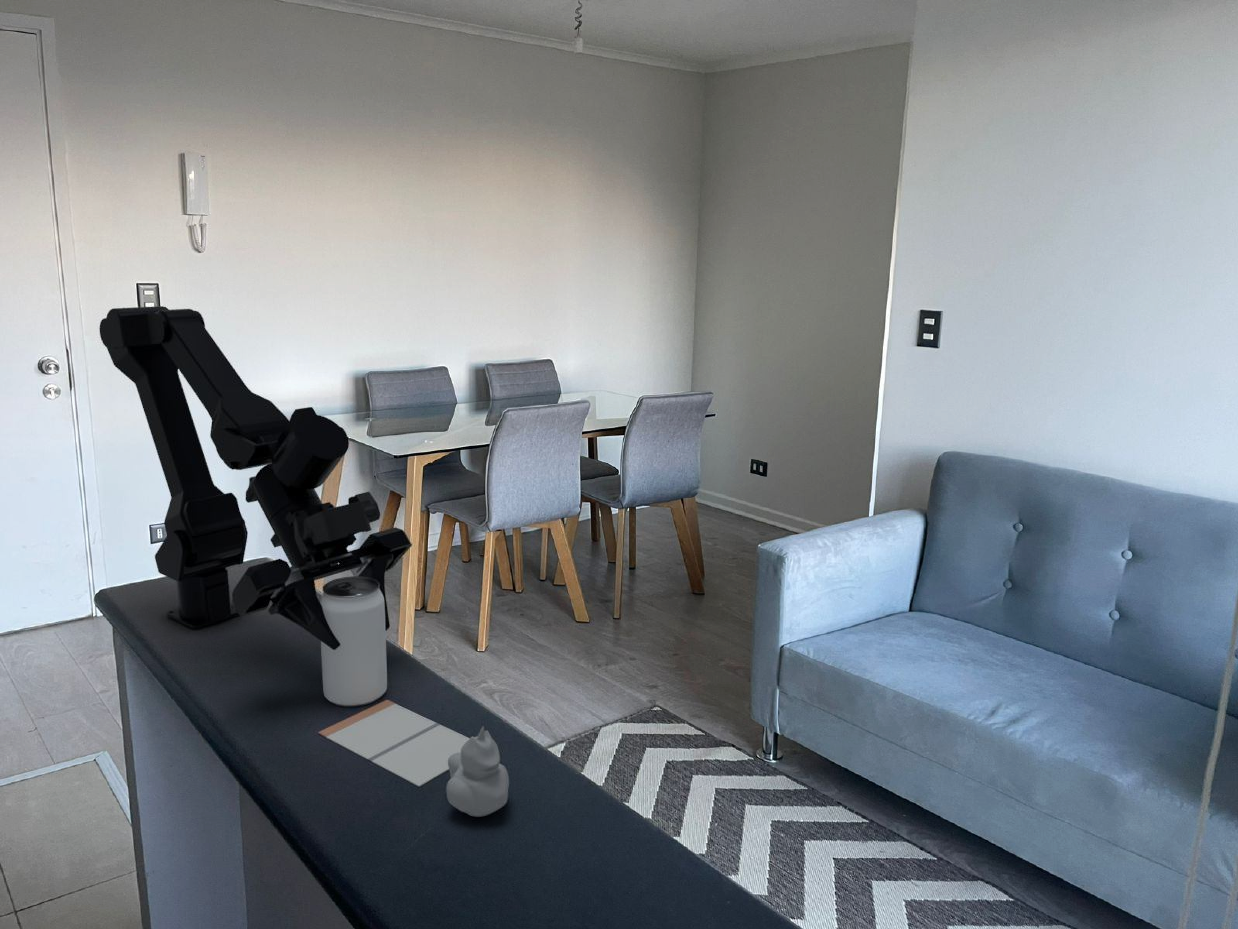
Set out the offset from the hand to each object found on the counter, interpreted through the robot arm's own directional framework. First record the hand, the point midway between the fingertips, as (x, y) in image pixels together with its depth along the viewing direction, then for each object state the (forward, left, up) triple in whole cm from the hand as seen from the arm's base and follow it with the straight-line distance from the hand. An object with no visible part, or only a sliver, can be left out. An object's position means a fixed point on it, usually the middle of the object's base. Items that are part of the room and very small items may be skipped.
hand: (362, 638), depth 98 cm
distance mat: (+9, -3, -7) cm, 12 cm away
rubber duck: (+22, -6, -7) cm, 24 cm away
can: (-1, 0, -7) cm, 7 cm away
